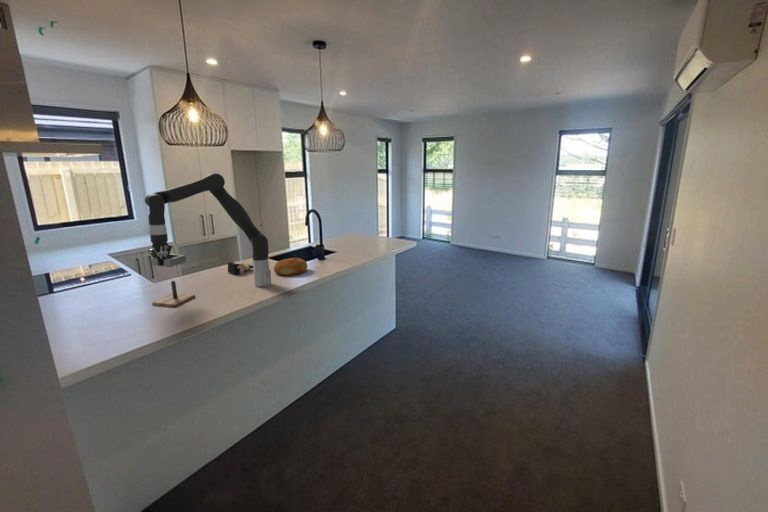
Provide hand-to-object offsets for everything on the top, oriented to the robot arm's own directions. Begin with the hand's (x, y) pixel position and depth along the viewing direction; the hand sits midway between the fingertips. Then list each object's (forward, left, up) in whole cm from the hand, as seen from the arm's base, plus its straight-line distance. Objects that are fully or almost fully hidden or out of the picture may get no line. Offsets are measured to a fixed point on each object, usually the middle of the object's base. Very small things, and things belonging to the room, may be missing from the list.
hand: (162, 265), depth 182 cm
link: (0, -5, -1) cm, 5 cm away
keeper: (0, -5, -22) cm, 23 cm away
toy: (-3, -62, -22) cm, 66 cm away
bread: (-38, -70, -23) cm, 83 cm away
